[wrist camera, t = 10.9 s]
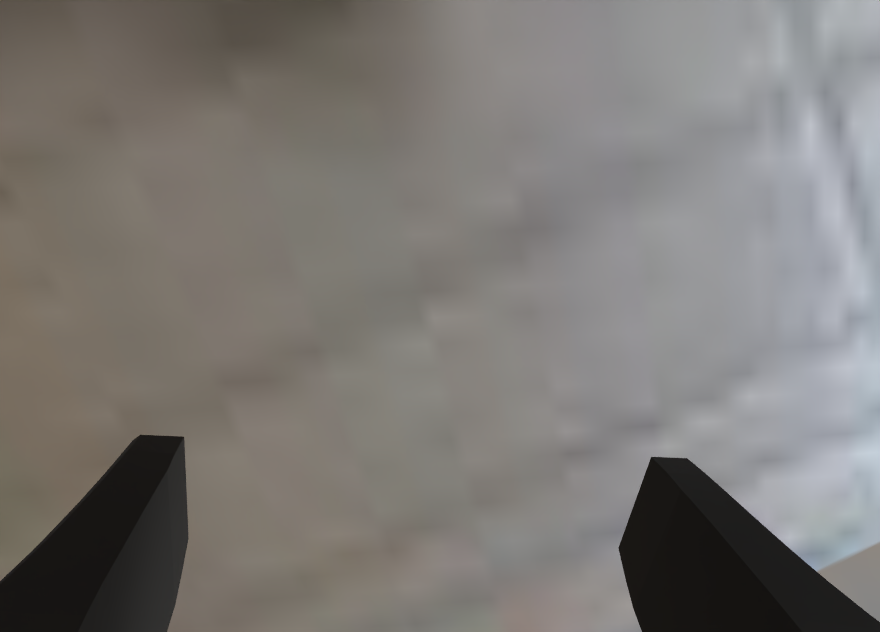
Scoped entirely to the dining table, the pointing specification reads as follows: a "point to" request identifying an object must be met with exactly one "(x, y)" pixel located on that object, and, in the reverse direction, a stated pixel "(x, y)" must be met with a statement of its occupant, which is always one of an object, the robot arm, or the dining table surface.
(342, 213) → the dining table surface
